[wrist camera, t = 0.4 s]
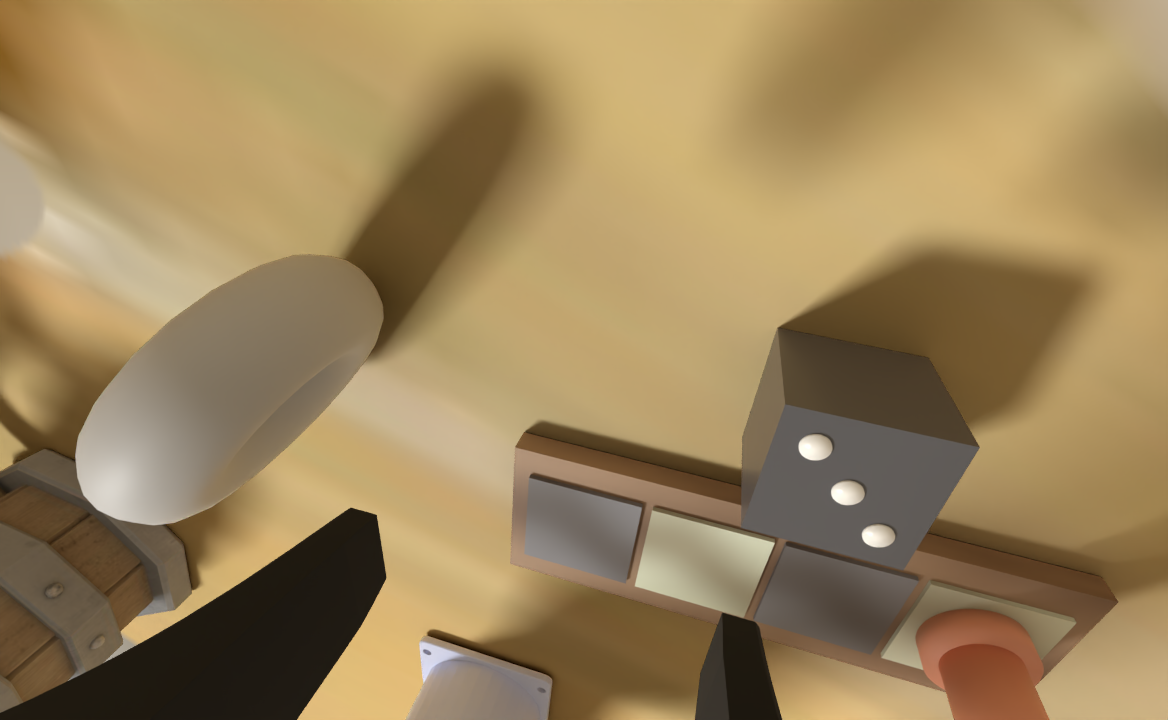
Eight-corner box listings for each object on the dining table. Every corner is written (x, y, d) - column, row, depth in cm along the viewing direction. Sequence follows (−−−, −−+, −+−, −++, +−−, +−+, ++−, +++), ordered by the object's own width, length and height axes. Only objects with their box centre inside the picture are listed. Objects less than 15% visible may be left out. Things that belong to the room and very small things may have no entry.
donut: (366, 194, 19) (59, 316, 10) (444, 262, 19) (212, 430, 11) (273, 363, 24) (21, 533, 16) (337, 413, 25) (125, 603, 16)
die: (874, 466, 19) (906, 573, 15) (742, 435, 20) (740, 529, 16) (930, 357, 17) (983, 449, 13) (777, 326, 17) (785, 406, 14)
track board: (1000, 686, 22) (1012, 716, 21) (518, 547, 26) (508, 567, 25) (1101, 576, 19) (1121, 607, 18) (524, 432, 22) (513, 450, 21)
